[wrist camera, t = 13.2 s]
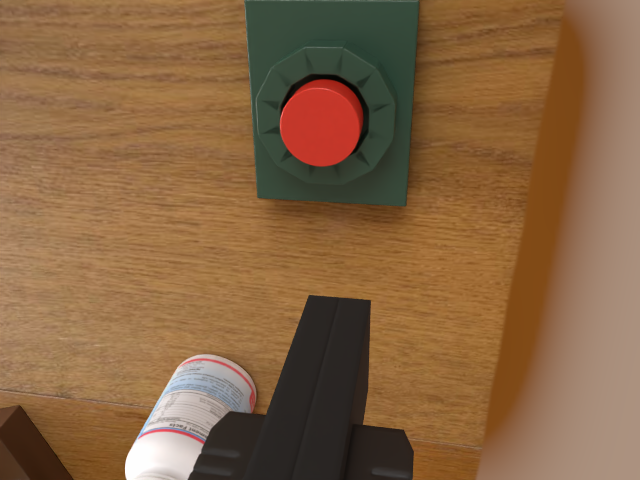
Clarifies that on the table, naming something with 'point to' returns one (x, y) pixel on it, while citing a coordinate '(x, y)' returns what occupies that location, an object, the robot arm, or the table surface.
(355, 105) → the button
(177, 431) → the pill bottle
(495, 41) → the table surface
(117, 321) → the table surface
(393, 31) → the button block
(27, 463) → the plate
